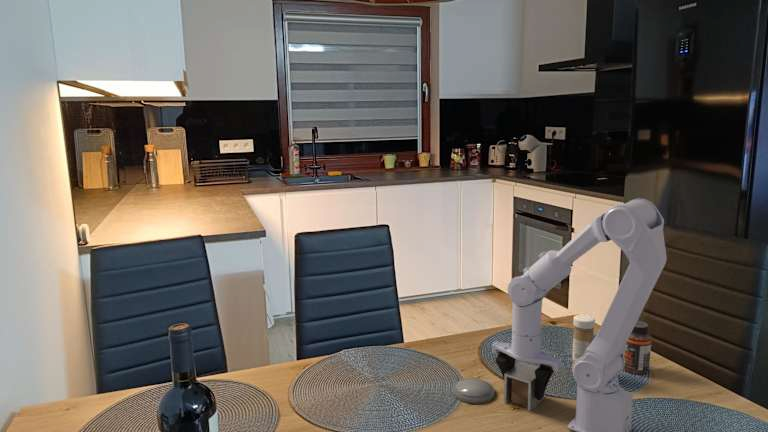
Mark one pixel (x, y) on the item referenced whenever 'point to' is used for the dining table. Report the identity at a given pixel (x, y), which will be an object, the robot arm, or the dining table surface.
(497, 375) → the dining table surface
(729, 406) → the dining table surface
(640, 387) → the dining table surface
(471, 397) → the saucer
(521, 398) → the block
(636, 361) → the supplement bottle
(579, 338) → the sprinkles bottle
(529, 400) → the cover
